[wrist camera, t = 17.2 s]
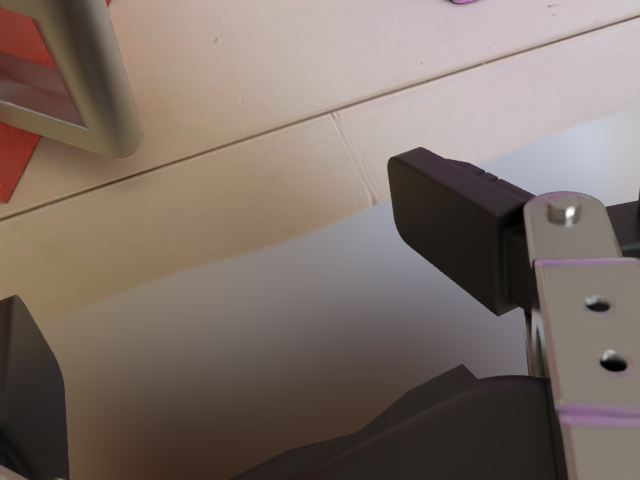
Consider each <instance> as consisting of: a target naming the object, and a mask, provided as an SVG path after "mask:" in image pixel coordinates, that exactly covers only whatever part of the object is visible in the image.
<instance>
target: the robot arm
mask: <svg viewBox="0 0 640 480" xmlns="http://www.w3.org/2000/svg"><path fill="white" fill-rule="evenodd" d="M387 169H388V177H389V185H390V192H391V199H392V207H393V214H394V221H395V224H396V227H397V230H398V232H399V234H400V236H401V237H402V239H403V240H404V241H405V242H406V244H408V245H409V246H410V247H411V248H412V249H414V250H415V251H416V252H417V253H419V254H420V255H421V256H422V257H424V258H425V259H426V260H428V261H429V262H430V263H431V264H433V265H434V266H435V267H437V268H438V269H439V270H440V271H441V272H443V273H444V274H445V275H446V276H448V277H449V278H450V279H451V280H453V281H454V282H455V283H456V284H458V285H459V286H460V287H461V288H463V289H464V290H465V291H467V292H468V293H469V294H470V295H471V296H473V297H474V298H475V299H476V300H478V301H479V302H480V303H481V304H483V305H484V306H485V307H487V308H488V309H489V310H490V311H491V312H493V313H494V314H495V315H497V316H500V315H502V314H505V313H506V312H509V311H511V310H513V309H515V308H517V307H519V306H520V307H521V308H523V309H524V334H525V344H526V354H527V364H528V374H529V376H523V375H506V376H494V377H487V378H482V379H477V378H476V377H475V376H474V375H473V374H472V373H471V372H470V371H469V370H468V369H467V368H466V367H465V366H464V365H463V364H461V365H459V366H458V367H455V368H453V369H451V370H449V371H447V372H445V373H443V374H441V375H439V376H437V377H435V378H433V379H431V380H429V381H427V382H425V383H423V384H421V385H419V386H417V387H415V388H413V389H411V390H409V391H408V392H406V393H405V394H404V395H403V396H402V397H400V398H399V399H398V400H397V401H396V402H394V403H393V404H392V405H391V406H390V407H388V408H387V409H386V410H385V411H384V412H382V413H381V414H380V415H379V416H378V417H376V418H375V419H374V420H373V421H371V423H369V424H368V425H367V426H366V427H364V428H363V429H362V430H360V431H358V432H356V433H353V434H350V435H346V436H342V437H339V438H335V439H331V440H327V441H323V442H319V443H316V444H312V445H308V446H304V447H300V448H296V449H292V450H289V451H286V452H284V453H282V454H280V455H278V456H276V457H274V458H272V459H270V460H268V461H266V462H264V463H262V464H260V465H258V466H256V467H254V468H252V469H250V470H248V471H246V472H244V473H241V474H239V475H238V476H236V477H233V478H232V479H229V480H640V192H639V200H638V201H634V202H629V203H623V204H618V205H613V206H608V207H605V206H604V204H602V202H601V201H599V200H598V199H596V198H594V197H592V196H590V195H586V194H583V193H578V192H569V191H559V192H550V193H545V194H542V195H539V196H535V195H533V194H531V193H529V192H527V191H525V190H523V189H521V188H519V187H517V186H515V185H513V184H511V183H509V182H507V181H505V180H503V179H498V177H496V176H494V175H492V174H490V173H488V172H487V173H485V171H484V170H482V169H480V168H478V167H476V166H474V165H472V164H470V163H467V162H461V161H456V160H451V159H444V158H442V157H440V156H438V155H437V154H435V153H433V152H431V151H429V150H427V149H425V148H422V147H418V148H415V149H413V150H410V151H407V152H405V153H402V154H399V155H396V156H394V157H391V158H390V159H389V161H388V165H387ZM0 480H70V479H69V462H68V444H67V425H66V407H65V390H64V380H63V377H62V373H61V370H60V367H59V364H58V362H57V360H56V358H55V356H54V354H53V352H52V350H51V349H50V347H49V345H48V344H47V342H46V340H45V339H44V337H43V335H42V333H41V331H40V330H39V328H38V326H37V324H36V323H35V321H34V319H33V318H32V316H31V314H30V312H29V311H28V309H27V307H26V305H25V304H24V302H23V301H22V300H21V298H20V297H19V296H17V295H14V296H11V297H8V298H5V299H3V300H0Z"/></svg>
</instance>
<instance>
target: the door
mask: <svg viewBox="0 0 640 480" xmlns="http://www.w3.org/2000/svg"><path fill="white" fill-rule="evenodd" d="M109 1H110V0H0V202H4V203H6V202H7V201H8V199H9V197H10V195H11V193H12V191H13V189H14V187H15V185H16V183H17V181H18V179H19V177H20V175H21V173H22V171H23V169H24V168H25V166H26V164H27V162H28V160H29V158H30V156H31V154H32V152H33V150H34V148H35V146H36V144H37V142H38V140H39V138H40V136H41V135H42V136H45V137H48V138H51V139H54V140H57V141H60V142H63V143H66V144H70V145H73V146H76V147H79V148H82V149H85V150H88V151H91V152H94V153H97V154H101V155H104V156H106V157H109V158H124V157H127V156H129V155H131V154H133V153H134V152H135V151H136V150H137V149H138V148H139V147H140V145H141V143H142V140H143V130H142V127H141V123H140V120H139V116H138V113H137V109H136V106H135V102H134V99H133V95H132V92H131V88H130V85H129V81H128V78H127V74H126V71H125V67H124V64H123V60H122V57H121V53H120V50H119V46H118V43H117V39H116V36H115V32H114V29H113V25H112V22H111V18H110V15H109V11H108V8H107V5H108V3H109Z"/></svg>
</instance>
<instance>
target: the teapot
mask: <svg viewBox="0 0 640 480" xmlns="http://www.w3.org/2000/svg"><path fill="white" fill-rule="evenodd" d="M453 1H454V2H456V3H468V2H472V1H476V0H453Z"/></svg>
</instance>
